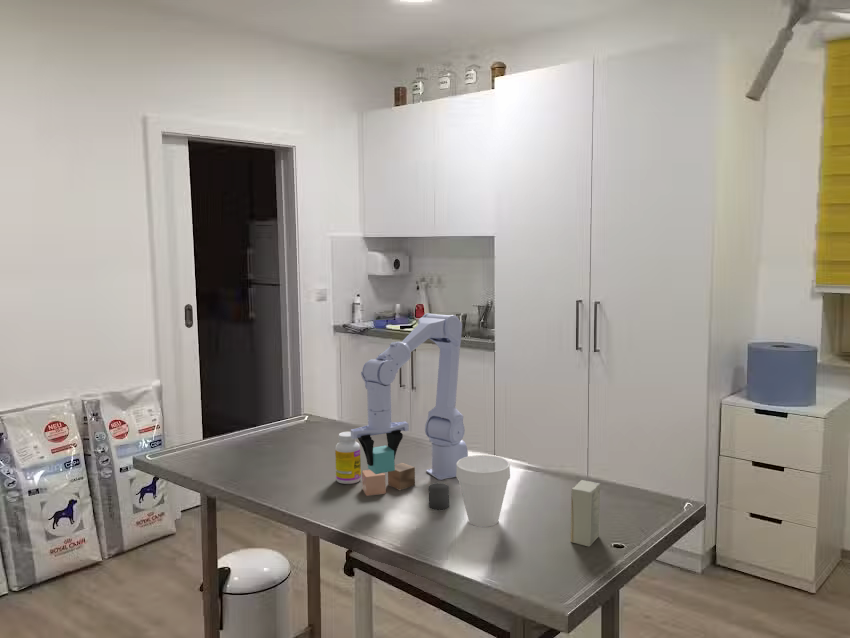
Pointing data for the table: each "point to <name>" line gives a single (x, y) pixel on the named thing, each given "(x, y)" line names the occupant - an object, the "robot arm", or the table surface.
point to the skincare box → (585, 512)
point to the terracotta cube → (373, 483)
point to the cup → (483, 487)
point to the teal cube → (382, 460)
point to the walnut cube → (402, 476)
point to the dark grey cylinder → (438, 496)
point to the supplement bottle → (347, 459)
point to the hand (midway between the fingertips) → (380, 462)
